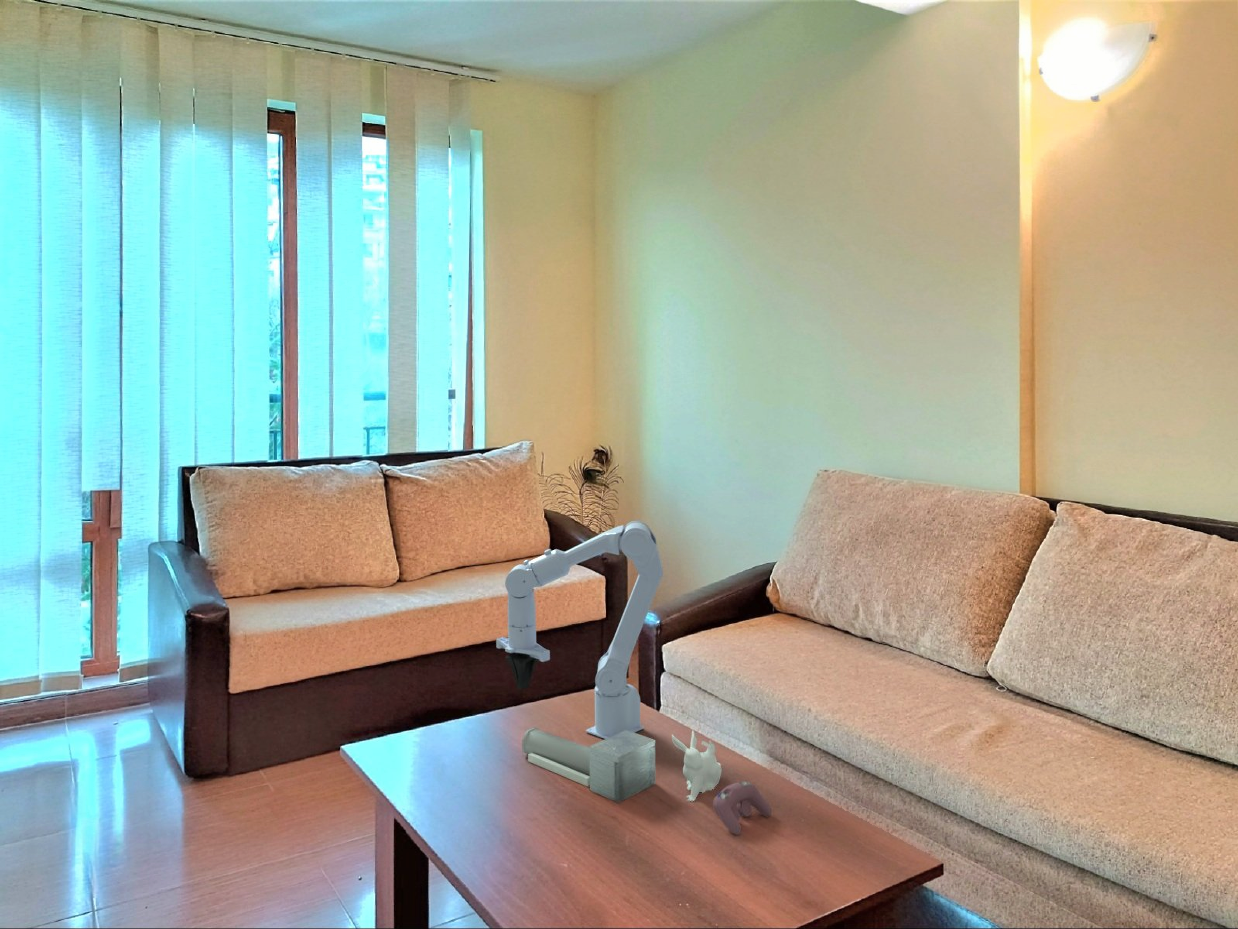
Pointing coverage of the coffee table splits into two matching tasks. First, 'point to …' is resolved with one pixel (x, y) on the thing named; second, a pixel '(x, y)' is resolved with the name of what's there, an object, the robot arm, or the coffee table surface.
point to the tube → (557, 750)
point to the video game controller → (739, 804)
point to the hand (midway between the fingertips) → (523, 687)
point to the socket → (622, 765)
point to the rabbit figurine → (699, 767)
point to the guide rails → (559, 769)
